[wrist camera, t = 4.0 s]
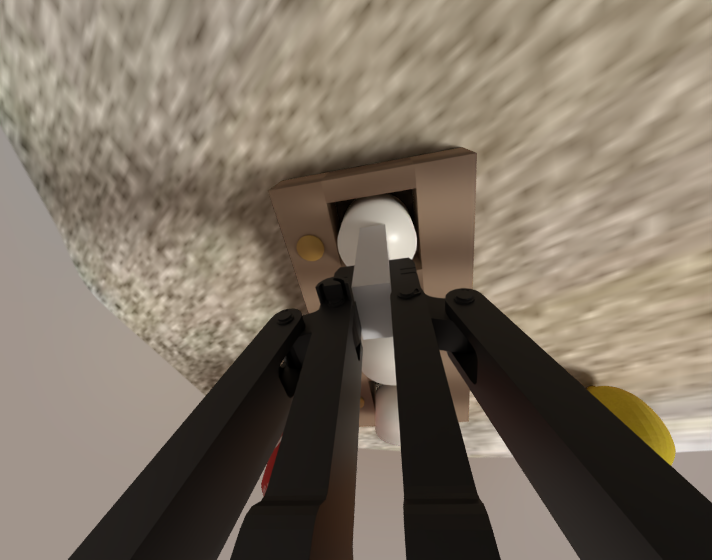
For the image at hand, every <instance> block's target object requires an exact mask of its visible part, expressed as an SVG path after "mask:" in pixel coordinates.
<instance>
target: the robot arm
mask: <svg viewBox="0 0 712 560" xmlns="http://www.w3.org/2000/svg"><path fill="white" fill-rule="evenodd" d="M315 288H316V291H317V295H318V298H319V301H320V307H319V310H317V311H315V312H313V313H310V314H306V315H303V316H302V313H301V312H300V311H299V310H298V309H286V310H283V311H280V312H279V313H277V314H275V315H274V316H273V317H272V318H271V319H270V320H269V321H268V323H267V324H266V325H265V326H264V327H263V328H262V330H261V331H260V332H259V333H258V334H257V336H256V337H255V338H254V339H253V340H252V342H251V343H250V344H249V345H248V346H247V347H246V349H245V350H244V351H243V352H242V353H241V355H240V356H239V357H238V358H237V359H236V361H235V362H234V363H233V364H232V365H231V366H230V368H229V369H228V370H227V371H226V372H225V374H224V375H223V376H222V377H221V378H220V380H219V381H218V382H217V383H216V384H215V385H214V387H213V388H212V389H211V390H210V391H209V393H208V394H207V395H206V396H205V397H204V399H203V400H202V401H201V402H200V403H199V405H198V406H197V407H196V408H195V409H194V410H193V412H192V413H191V414H190V415H189V416H188V418H187V419H186V420H185V421H184V422H183V423H182V425H181V426H180V427H179V428H178V429H177V431H176V432H175V433H174V434H173V436H172V437H171V438H170V439H169V440H168V441H167V443H166V444H165V445H164V446H163V447H162V448H161V450H160V451H159V452H158V453H157V454H156V456H155V457H154V458H153V459H152V461H151V462H150V463H149V464H148V465H147V466H146V467H145V469H144V470H143V471H142V472H141V473H140V475H139V476H138V477H137V478H136V479H135V480H134V482H133V483H132V484H131V485H130V486H129V488H128V489H127V490H126V491H125V492H124V494H123V495H122V496H121V497H120V499H118V501H117V502H116V503H115V504H114V505H113V507H112V508H111V509H110V510H109V511H108V512H107V514H106V515H105V516H104V517H103V518H102V520H101V521H100V522H99V523H98V524H97V526H96V527H95V528H94V529H93V530H92V531H91V533H90V534H89V535H88V536H87V537H86V539H85V540H84V541H83V542H82V544H81V545H80V546H79V547H78V548H77V549H76V551H75V552H74V553H73V554H72V555H71V556H70V558H69V559H68V560H217V558H218V556H219V554H220V552H221V550H222V549H223V547H224V545H225V543H226V541H227V539H228V537H229V535H230V533H231V531H232V529H233V527H234V526H235V524H236V522H237V520H238V518H239V516H240V514H241V512H242V510H243V508H244V506H245V504H246V503H247V501H248V499H249V497H250V494H251V493H252V491H253V489H254V487H255V485H256V483H257V481H258V480H259V477H260V475H261V474H262V472H263V470H264V468H265V466H266V464H267V462H268V460H269V458H270V456H271V455H272V453H273V451H274V449H275V447H276V445H277V443H278V441H279V439H280V437H281V435H282V433H283V435H282V438H281V442H280V445H279V449H278V452H277V456H276V459H275V463H274V466H273V469H272V473H271V476H270V480H269V483H268V487H267V490H266V493H265V495H264V497H263V499H262V500H261V501H260V502H258V503H257V504H255V505H253V506H252V507H251V508H250V510H249V511H248V513H247V514H246V516H245V518H244V521H243V523H242V526H241V528H240V531H239V534H238V537H237V540H236V543H235V546H234V549H233V553H232V555H231V558H230V560H353V526H354V508H355V489H356V471H357V451H358V433H359V414H360V395H361V376H362V357H363V346H362V342H361V332H362V337H363V340H366V339H377V338H387V337H393V345H394V359H395V373H396V387H397V401H398V415H399V429H400V444H401V457H402V472H403V484H404V485H403V486H404V504H403V505H404V506H403V509H404V529H405V530H404V531H405V545H406V560H501V559H500V555H499V552H498V548H497V544H496V541H495V537H494V533H493V530H492V527H491V524H490V520H489V517H488V514H487V511H486V509H485V506H484V504H483V503H482V501H481V500H480V499H479V496H478V494H477V490H476V487H475V483H474V480H473V476H472V472H471V468H470V465H469V461H468V457H467V453H466V449H465V445H464V442H463V438H462V434H461V430H460V426H459V423H458V419H457V415H456V411H455V407H454V404H453V400H452V396H451V392H450V388H449V385H448V381H447V377H446V373H445V369H444V366H443V362H442V358H441V354H440V350H443V351H446V352H447V354H448V357H449V358H450V360H451V361H452V363H453V364H454V366H455V367H456V369H457V370H458V372H459V373H460V375H461V377H462V378H463V380H464V381H465V383H466V384H467V386H468V387H469V389H470V390H471V392H472V393H473V395H474V397H475V398H476V400H477V401H478V403H479V404H480V406H481V407H482V409H483V410H484V412H485V413H486V415H487V417H488V418H489V420H490V421H491V423H492V424H493V426H494V427H495V429H496V430H497V432H498V434H499V435H500V437H501V438H502V440H503V441H504V443H505V444H506V446H507V447H508V449H509V450H510V452H511V454H512V455H513V457H514V458H515V460H516V461H517V463H518V464H519V466H520V467H521V469H522V470H523V472H524V474H525V475H526V477H527V478H528V480H529V481H530V483H531V484H532V486H533V487H534V489H535V490H536V492H537V493H538V495H539V497H540V498H541V500H542V501H543V503H544V504H545V505H546V507H547V509H548V510H549V512H550V514H551V515H552V517H553V518H554V520H555V521H556V523H557V524H558V526H559V527H560V529H561V530H562V532H563V534H564V535H565V537H566V538H567V540H568V541H569V543H570V544H571V546H572V547H573V549H574V550H575V552H576V553H577V555H578V557H579V558H580V560H712V503H711V502H710V501H709V500H708V499H707V498H706V497H705V496H703V495H702V494H701V493H700V492H699V491H698V490H697V489H696V488H695V487H694V486H692V485H691V484H690V483H689V482H688V481H687V480H686V479H685V478H684V477H682V475H680V474H679V473H678V472H677V471H676V470H675V469H674V468H673V467H672V466H671V465H669V464H668V463H667V462H666V461H665V460H664V459H663V458H662V457H661V456H660V455H658V454H657V453H656V452H655V451H654V450H653V449H652V448H651V447H650V446H649V445H647V444H646V443H645V442H644V441H643V440H642V439H641V438H640V437H639V436H638V435H636V434H635V433H634V432H633V431H632V430H631V429H630V428H629V427H628V426H627V425H625V424H624V423H623V422H622V421H621V420H620V419H619V418H618V417H617V416H616V415H614V414H613V413H612V412H611V411H610V410H609V409H608V408H607V407H606V406H605V405H603V404H602V403H601V402H600V401H599V400H598V399H597V398H596V397H595V396H594V395H592V394H591V393H590V392H589V391H588V390H587V389H586V388H585V387H584V386H583V385H581V384H580V383H579V382H578V381H577V380H576V379H575V378H574V377H573V376H572V375H570V374H569V373H568V372H567V371H566V370H565V369H564V368H563V367H562V366H561V365H559V364H558V363H557V362H556V361H555V360H554V359H553V358H552V357H551V356H550V355H548V354H547V353H546V352H545V351H544V350H543V349H542V348H541V347H540V346H539V345H537V344H536V343H535V342H534V341H533V340H532V339H531V338H530V337H529V336H528V335H526V334H525V333H524V332H523V331H522V330H521V329H520V328H519V327H518V326H517V325H515V324H514V323H513V322H512V321H511V320H510V319H509V318H508V317H507V316H506V315H504V314H503V313H502V312H501V311H500V310H499V309H498V308H497V307H496V306H495V305H493V304H492V303H491V302H490V301H489V300H488V299H487V298H486V297H485V296H484V295H482V294H481V293H480V292H478V291H476V290H473V289H469V288H459V289H454V290H452V291H449V292H448V293H447V294H446V296H445V298H436V297H432V296H429V295H427V294H425V293H424V291H423V289H422V288H421V286H420V282H419V278H418V274H417V270H416V266H415V263H414V261H413V260H411V259H410V258H409V257H408V258H401V259H393V260H390V256H389V248H388V241H387V234H386V226H385V224H383V225H376V226H370V227H363V228H360V231H359V238H358V245H357V252H356V259H355V265H354V266H347V267H340V268H339V269H338V270H337V271H336V272H335V273H334V277H330V278H327V279H324V280H322V281H321V282H319V283H318V284H317V285H316V287H315ZM283 359H284V362H283V364H282V365H281V366H280V364H281V362H282V361H283Z"/></svg>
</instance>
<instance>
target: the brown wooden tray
mask: <svg viewBox="0 0 712 560" xmlns="http://www.w3.org/2000/svg"><path fill="white" fill-rule="evenodd" d="M476 164H477V153H475V152H473V151H470V150H468V149H465V148H463V147H461V148H456V149H450V150H445V151H440V152H434V153H429V154H423V155H418V156H413V157H407V158H402V159H396V160H391V161H386V162H380V163H375V164H369V165H364V166H359V167H353V168H348V169H342V170H337V171H332V172H326V173H321V174H315V175H310V176H305V177H299V178H294V179H288V180H283V181H281V182H280V183H278V184H277V185H276V186H274V187H273V188H271V189H270V190H269V191H268V192H269V195H270V198H271V201H272V204H273V207H274V210H275V213H276V216H277V219H278V222H279V225H280V229H281V232H282V235H283V238H284V241H285V244H286V247H287V250H288V253H289V256H290V259H291V262H292V265H293V268H294V271H295V274H296V277H297V280H298V283H299V286H300V289H301V292H302V295H303V298H304V301H305V304H306V307H307V310H308V313H309V314H310V313H313V312H315V311H317V310H319V307H320V301H319V298H318V295H317V291H316V288H315V287H316V285H317V284H318V283H319V282H321V281H322V280H324V279H327V278H330V277H334V273H335V272H336V271H337V270H338V269H339V268H340V267H347V266H346V264H345V263H344V262H343V260H342V259H341V256H340V254H339V251H338V242H337V241H338V234H339V231H340V228H341V226H340V222H339V217H338V213H337V208H336V204H335V202H337V201H343V200H349V199H355V198H361V197H367V196H373V195H379V194H385V193H391V192H396V191H402V190H408V189H412V196H413V209H414V221H415V232H416V237H417V251H415V254H414V256H413V258H412V260H413V261H414V263H415V266H416V270H417V274H418V278H419V282H420V286H421V288H422V289H423V291H424V293H425V294H427V295H429V296H432V297H436V298H445V296H446V294H447V293H448V292H449V291H452V290H454V289H459V288H469V289H473V261H474V229H475V196H476ZM440 354H441V358H442V362H443V366H444V369H445V373H446V377H447V381H448V385H449V388H450V392H451V396H452V400H453V404H454V407H455V411H456V415H457V419H458V422H467V421H469V391H470V389H469V387H468V386H467V384H466V383H465V381H464V380H463V378H462V377H461V375H460V373H459V372H458V370H457V369H456V367H455V366H454V364H453V363H452V361H451V360H450V358H449V357H448V354H447V352H446V351H443V350H440ZM375 408H376V386H375V381H373V380H371V379H369V378H368V377H367V376H366V375H365V374H364V373H363V372H362V376H361V395H360V414H359V427H361V426H375Z"/></svg>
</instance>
